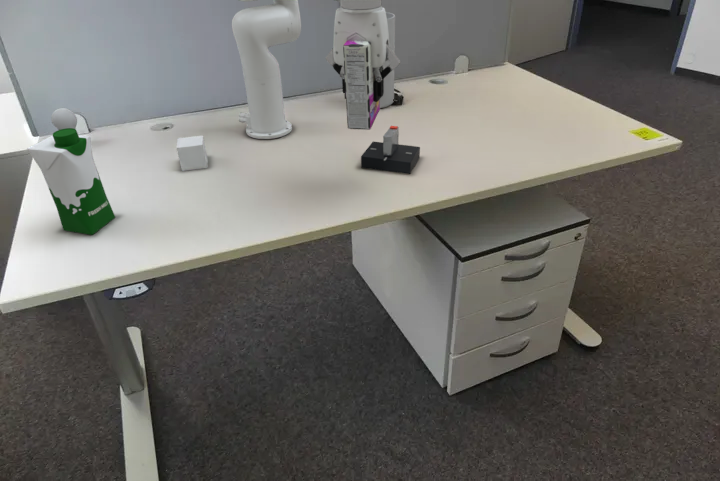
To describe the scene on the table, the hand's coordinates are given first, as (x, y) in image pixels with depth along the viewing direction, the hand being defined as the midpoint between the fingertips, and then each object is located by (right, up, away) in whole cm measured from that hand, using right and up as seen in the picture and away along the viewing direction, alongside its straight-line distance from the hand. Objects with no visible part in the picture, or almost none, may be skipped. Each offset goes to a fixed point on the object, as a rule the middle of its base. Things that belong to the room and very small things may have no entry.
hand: (363, 97), depth 105 cm
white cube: (-41, -10, +23) cm, 49 cm away
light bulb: (-78, -3, +35) cm, 85 cm away
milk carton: (-56, -26, +2) cm, 61 cm away
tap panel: (+7, -10, +21) cm, 24 cm away
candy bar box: (0, -4, +3) cm, 5 cm away
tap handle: (+7, -7, +19) cm, 22 cm away
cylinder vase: (+4, +14, +56) cm, 58 cm away
